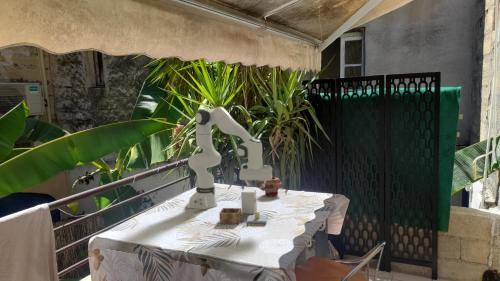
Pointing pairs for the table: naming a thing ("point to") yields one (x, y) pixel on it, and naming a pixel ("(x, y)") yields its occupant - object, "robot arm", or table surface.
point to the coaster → (256, 224)
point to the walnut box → (230, 216)
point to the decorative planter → (270, 186)
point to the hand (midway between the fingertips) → (255, 186)
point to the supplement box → (249, 201)
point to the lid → (257, 218)
